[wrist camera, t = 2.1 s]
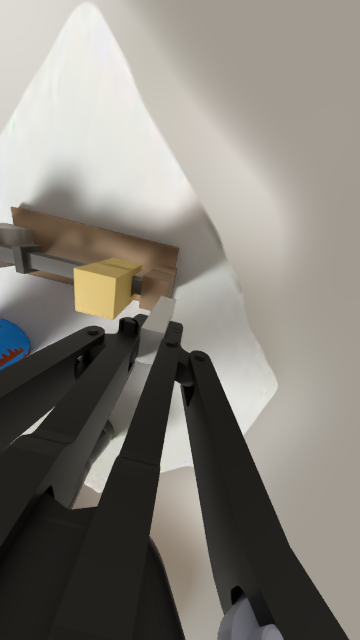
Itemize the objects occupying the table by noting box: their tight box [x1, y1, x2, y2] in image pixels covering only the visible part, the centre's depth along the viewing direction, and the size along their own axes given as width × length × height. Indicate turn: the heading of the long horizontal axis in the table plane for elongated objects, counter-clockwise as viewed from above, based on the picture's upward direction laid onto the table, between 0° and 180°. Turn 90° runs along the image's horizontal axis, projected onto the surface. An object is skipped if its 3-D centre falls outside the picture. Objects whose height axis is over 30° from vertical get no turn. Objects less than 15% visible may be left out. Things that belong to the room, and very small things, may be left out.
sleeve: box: [74, 258, 142, 320], centre depth 22 cm, size 4×4×9 cm
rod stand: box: [0, 207, 179, 311], centre depth 26 cm, size 10×28×10 cm, turn 77°
